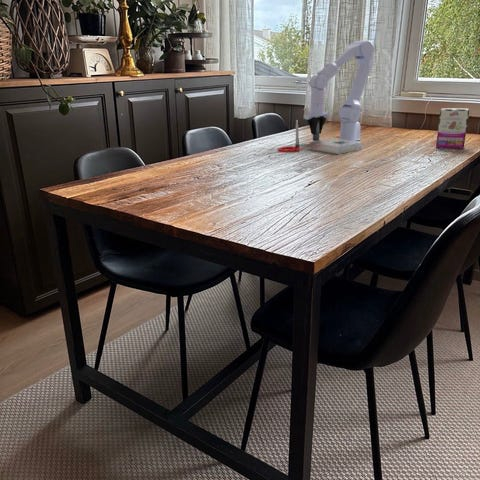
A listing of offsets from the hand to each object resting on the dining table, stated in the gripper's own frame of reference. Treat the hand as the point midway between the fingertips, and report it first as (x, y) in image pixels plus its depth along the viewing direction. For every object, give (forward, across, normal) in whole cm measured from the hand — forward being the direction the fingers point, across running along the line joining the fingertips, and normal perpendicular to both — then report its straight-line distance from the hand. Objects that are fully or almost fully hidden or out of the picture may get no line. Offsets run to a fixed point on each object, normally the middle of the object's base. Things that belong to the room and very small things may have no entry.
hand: (316, 133), depth 215 cm
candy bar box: (+5, -32, +48) cm, 58 cm away
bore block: (+4, +4, +15) cm, 16 cm away
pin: (+3, 0, 0) cm, 3 cm away
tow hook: (+5, +20, +2) cm, 21 cm away
